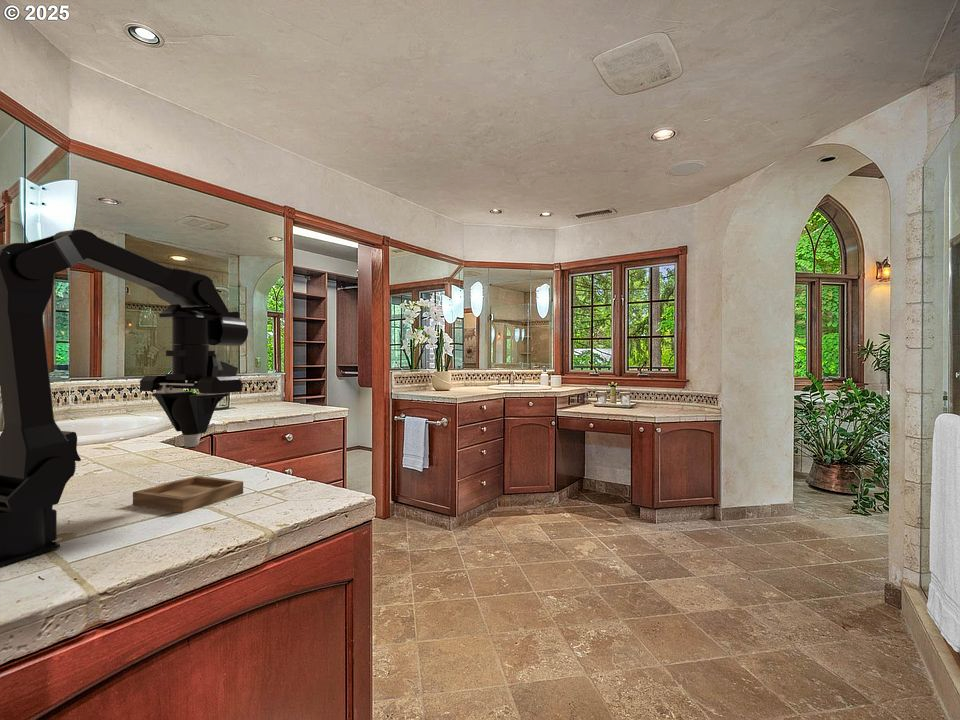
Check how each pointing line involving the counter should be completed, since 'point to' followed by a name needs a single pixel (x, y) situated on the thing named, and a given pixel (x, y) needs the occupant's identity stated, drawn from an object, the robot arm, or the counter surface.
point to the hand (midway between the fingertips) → (191, 432)
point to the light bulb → (186, 420)
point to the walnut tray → (187, 493)
